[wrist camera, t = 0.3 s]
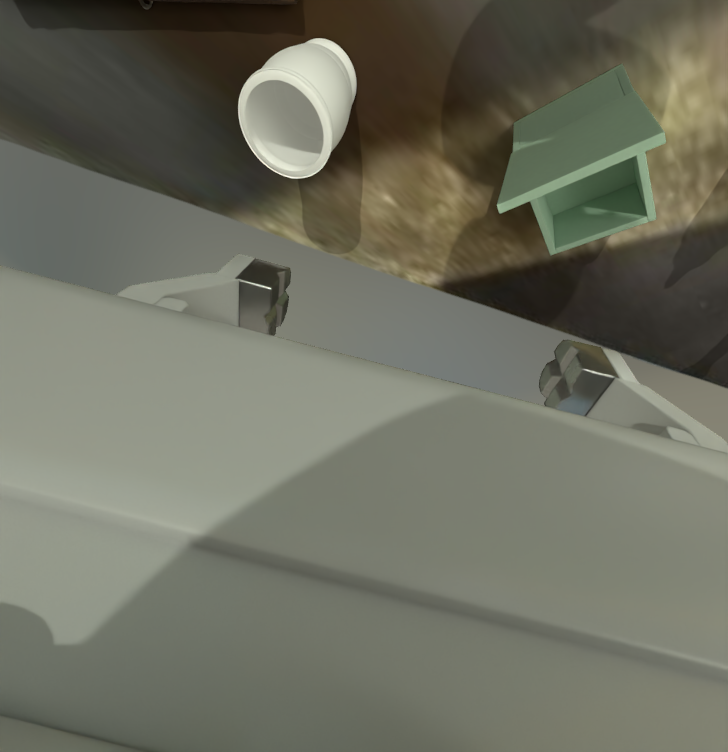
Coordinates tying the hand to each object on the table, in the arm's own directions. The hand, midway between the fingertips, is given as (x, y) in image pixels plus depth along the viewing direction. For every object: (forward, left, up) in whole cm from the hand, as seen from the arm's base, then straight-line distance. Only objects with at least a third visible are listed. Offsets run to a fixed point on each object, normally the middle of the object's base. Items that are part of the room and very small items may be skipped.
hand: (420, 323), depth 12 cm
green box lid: (-3, +12, -32) cm, 35 cm away
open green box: (-3, +21, -49) cm, 54 cm away
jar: (+21, -3, -50) cm, 54 cm away
